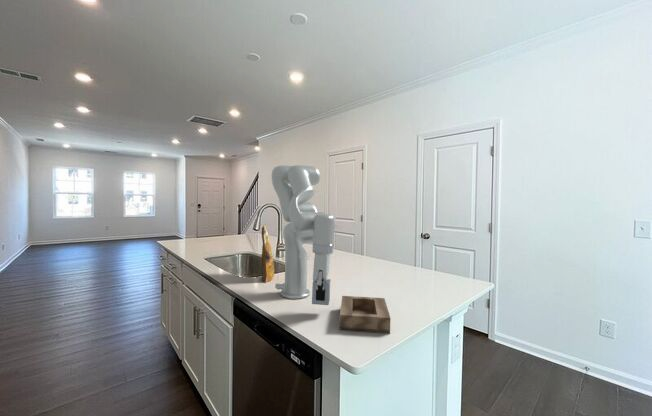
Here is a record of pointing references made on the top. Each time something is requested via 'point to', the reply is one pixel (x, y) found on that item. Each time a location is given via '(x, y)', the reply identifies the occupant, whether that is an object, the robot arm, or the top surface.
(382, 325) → the walnut well
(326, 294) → the tall blue-grey block
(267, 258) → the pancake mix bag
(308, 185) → the robot arm
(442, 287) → the top surface
